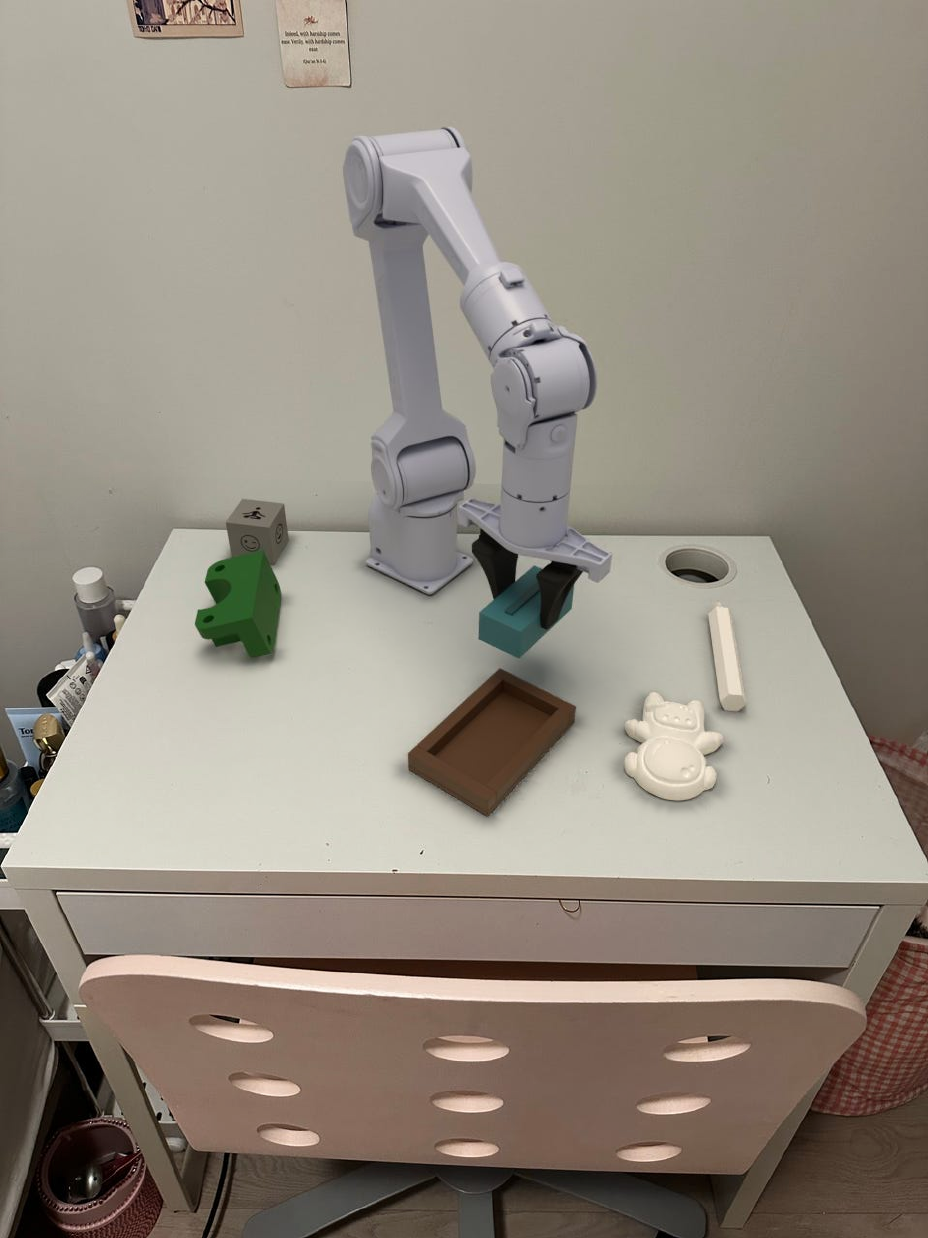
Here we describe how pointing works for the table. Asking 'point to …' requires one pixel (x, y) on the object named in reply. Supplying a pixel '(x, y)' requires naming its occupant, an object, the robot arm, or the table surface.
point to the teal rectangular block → (517, 616)
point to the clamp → (242, 604)
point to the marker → (726, 659)
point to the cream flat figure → (671, 749)
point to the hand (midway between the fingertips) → (526, 612)
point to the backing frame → (491, 740)
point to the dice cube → (258, 529)
